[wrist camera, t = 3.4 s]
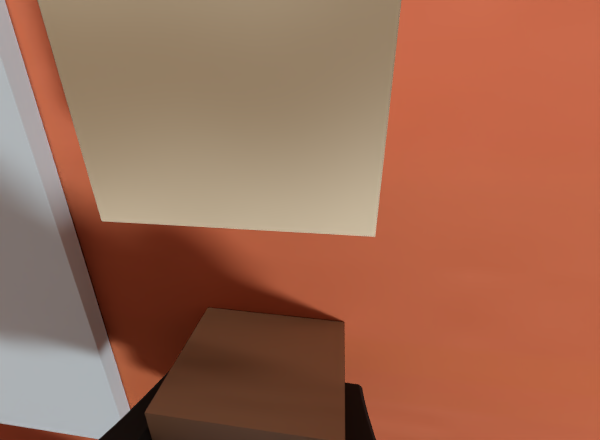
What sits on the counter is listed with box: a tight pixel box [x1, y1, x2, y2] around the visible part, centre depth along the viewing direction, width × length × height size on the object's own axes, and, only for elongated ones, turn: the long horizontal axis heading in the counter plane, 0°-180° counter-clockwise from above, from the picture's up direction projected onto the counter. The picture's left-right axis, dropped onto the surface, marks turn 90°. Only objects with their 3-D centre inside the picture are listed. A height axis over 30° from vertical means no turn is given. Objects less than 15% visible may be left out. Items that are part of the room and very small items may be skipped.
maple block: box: [38, 0, 401, 237], centre depth 6 cm, size 5×5×4 cm
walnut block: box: [145, 307, 345, 440], centre depth 10 cm, size 5×5×4 cm
